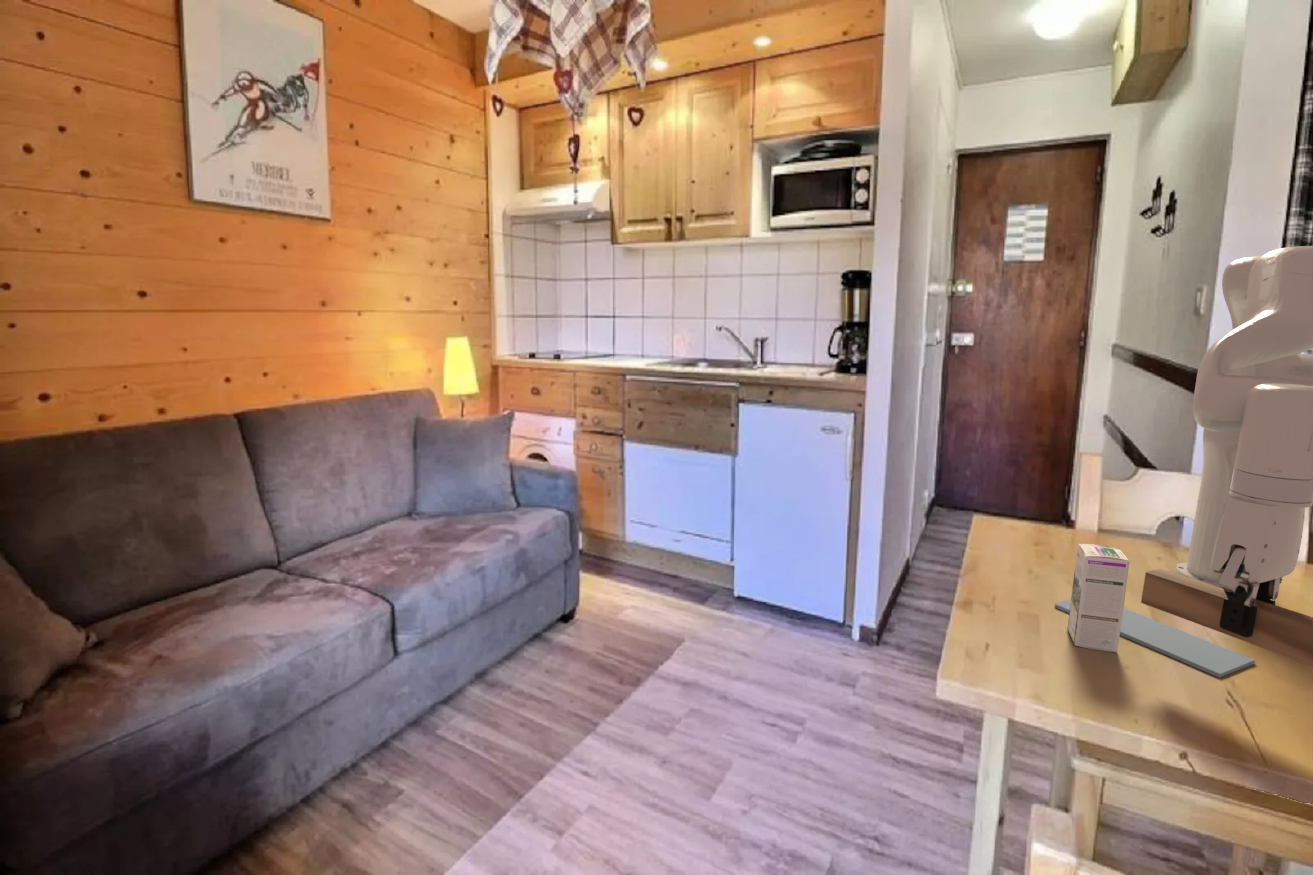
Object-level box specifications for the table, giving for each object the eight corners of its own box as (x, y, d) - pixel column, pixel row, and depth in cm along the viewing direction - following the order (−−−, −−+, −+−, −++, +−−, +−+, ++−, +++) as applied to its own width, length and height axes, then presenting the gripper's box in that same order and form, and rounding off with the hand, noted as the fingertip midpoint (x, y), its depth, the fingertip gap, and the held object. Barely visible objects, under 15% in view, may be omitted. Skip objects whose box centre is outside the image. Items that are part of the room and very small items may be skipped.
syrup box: (1118, 653, 100) (1133, 560, 97) (1072, 646, 102) (1085, 554, 99) (1108, 636, 106) (1122, 546, 103) (1064, 629, 108) (1077, 541, 105)
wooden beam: (1155, 598, 97) (1160, 568, 96) (1365, 674, 77) (1374, 636, 76) (1140, 602, 95) (1145, 572, 94) (1351, 680, 76) (1359, 642, 75)
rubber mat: (1088, 597, 119) (1089, 594, 119) (1254, 663, 98) (1255, 659, 98) (1054, 607, 115) (1055, 603, 115) (1219, 677, 94) (1220, 673, 94)
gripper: (1269, 474, 89) (1244, 606, 93) (1197, 486, 82) (1172, 628, 86) (1345, 488, 82) (1315, 630, 86) (1274, 503, 75) (1244, 656, 79)
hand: (1244, 628), depth 86 cm, fingers closed on wooden beam, 3 cm apart
